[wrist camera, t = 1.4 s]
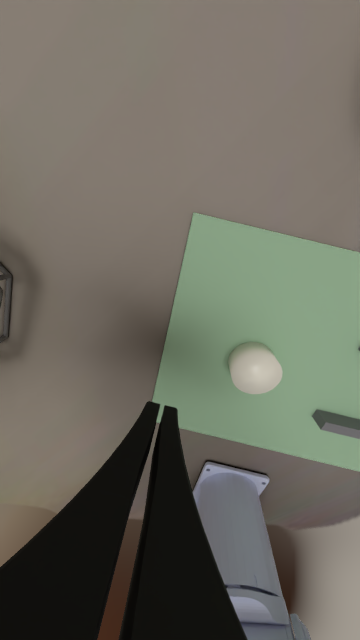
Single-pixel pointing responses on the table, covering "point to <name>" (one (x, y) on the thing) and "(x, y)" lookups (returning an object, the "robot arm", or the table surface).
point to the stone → (254, 368)
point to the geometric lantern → (7, 300)
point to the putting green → (265, 339)
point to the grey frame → (337, 423)
